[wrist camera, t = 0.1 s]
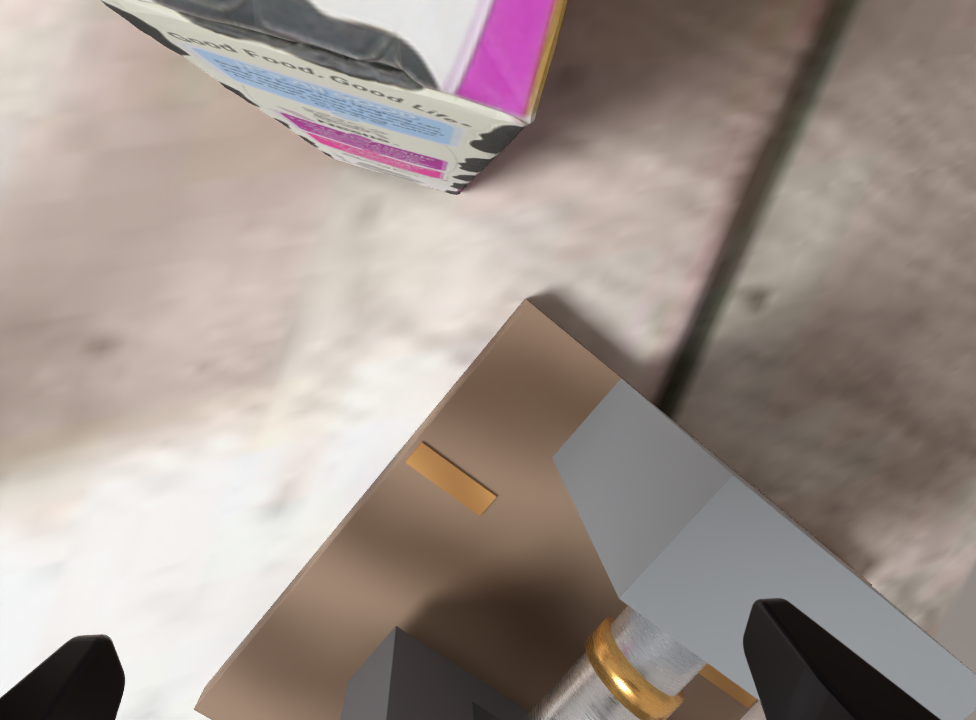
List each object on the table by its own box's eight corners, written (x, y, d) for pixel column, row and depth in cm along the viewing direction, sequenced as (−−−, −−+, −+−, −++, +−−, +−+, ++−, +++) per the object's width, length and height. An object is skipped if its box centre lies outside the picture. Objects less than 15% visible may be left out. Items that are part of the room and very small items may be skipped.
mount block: (733, 596, 26) (886, 793, 17) (552, 457, 24) (619, 599, 15) (800, 525, 25) (994, 690, 16) (621, 377, 23) (732, 475, 14)
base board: (545, 884, 30) (549, 914, 28) (204, 687, 26) (192, 711, 25) (853, 569, 27) (873, 586, 26) (525, 298, 23) (530, 303, 22)
